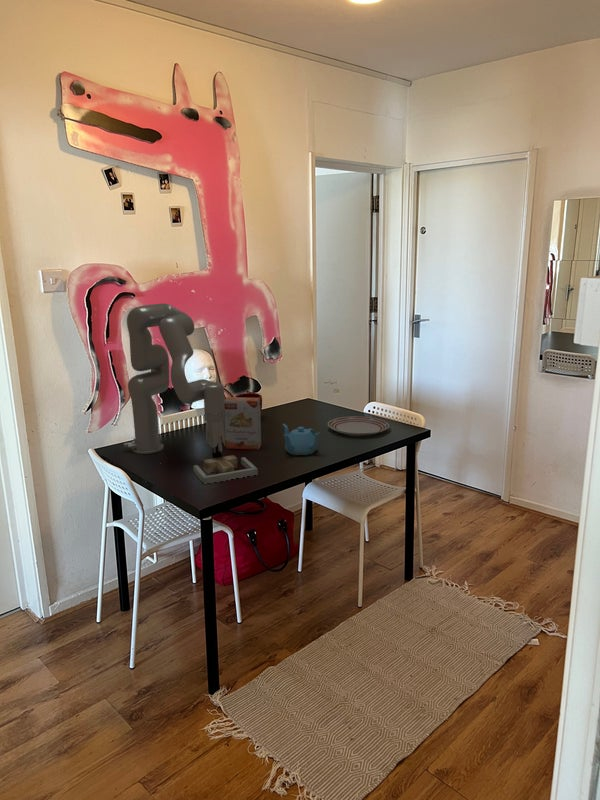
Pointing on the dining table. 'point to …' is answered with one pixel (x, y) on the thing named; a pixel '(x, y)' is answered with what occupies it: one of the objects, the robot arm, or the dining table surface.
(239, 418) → the cracker box
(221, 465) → the t block
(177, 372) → the robot arm
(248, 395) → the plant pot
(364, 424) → the dinner plate
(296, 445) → the teapot
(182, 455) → the dining table surface
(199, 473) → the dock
